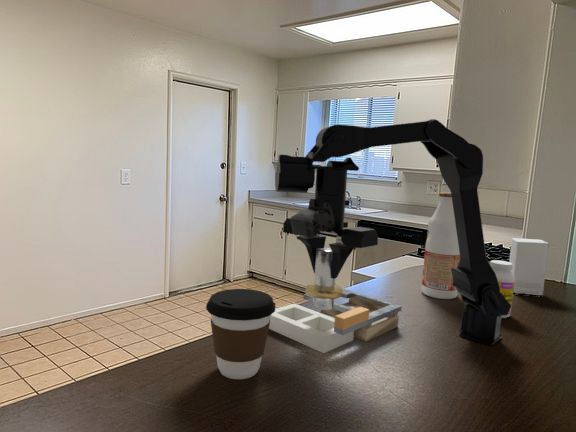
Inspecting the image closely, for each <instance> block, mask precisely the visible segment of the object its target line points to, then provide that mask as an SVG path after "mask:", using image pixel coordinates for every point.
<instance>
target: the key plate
mask: <svg viewBox="0 0 576 432" xmlns="http://www.w3.org/2000/svg"><path fill="white" fill-rule="evenodd" d="M341 288H342V289H343V293H342V296H341V297H340V298H343V299H349V298H351V297H352V298H355V299H359V300H362V301H365V302H368V303H371V304H375V305H378V306H381V307H383V308H381V309H378V310H376V311H373V312H370V313H369V309H366V308H363V307H358V308H355V309H353V308H350V307H347V306H344V305H342V304H339V303H338V302H335V301H334V308H333V309H334V310H337V311H340V312H343V313H341V314H338V315H336V316H335V322H334V332H336V333H338V334H341V335H345V334H347V333H350V332H352V331H354V330H357V329H359V328H361V327H364V326H366V325H369V324H371V323H373V322H376V321H378V320H381V319H383V318H385V317H388V316H390V315H392V314H395V313H397V312H398V313H399V312H402V309H403V307H402V305H399V304H396V303H392V302H389V301H387V300H386V301H385V300H382V299H378V298H376V297H372V296H370V295H365V294H363V293H359V292H355V291H353V290H349V289H346V288H343V287H341ZM302 298H303V300H306V301H309V302H312V303H313V297H312V296H309V295H308V294H306V293H303V297H302Z"/></svg>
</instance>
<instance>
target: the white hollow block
mask: <svg viewBox="0 0 576 432" xmlns="http://www.w3.org/2000/svg"><path fill="white" fill-rule="evenodd" d="M319 312H320V311H319ZM319 312H318V311H316V310H313V309H310V308H308V307H305V306H302V305H299V304H297V303H291V304H287V305H284V306H281V307H277V308H275V312H274V313H273V314H271V315H270V325H269V330H270V331H273V332H276V333H278V334H280V335H282V336H284V337H287V338H289V339H291V340H292V341H293V340H294V341H295V342H298V343H300V344H302V345H305V346H306V347H308V348H310V349H313V350H315V351H318V352H320V353H322V354H325V353H328V352H330V351H332V350H334V349H337V348H339V347H341V346H344V345H346V344H349V343H350V342H352V341H354V337H353V336H354V331H352V332H350V333H347V334H345V335H341V334H338V333H336V332H334V322H335V318H333V317H330V316H327V315H324V314H322V313H319Z"/></svg>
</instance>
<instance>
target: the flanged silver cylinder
mask: <svg viewBox="0 0 576 432" xmlns="http://www.w3.org/2000/svg"><path fill="white" fill-rule="evenodd" d="M331 268H332V250H331V248H330V247H324V248H318V249H316V261H315V273H314V280H313V281H314V282H313V283H309V284H307V285H306V286H305V294H308V295H309V296H312V297H313V302H312V307H313V308H314V309H318V310H320V311H321V310H330V309H333V308H334V302H335V299H340V298H342V297H341V296H342V293H343V289H344V288H343V287H341V286H339V285H337V284H336V280H337V278H335V279H332V274H331ZM342 288H343V289H342Z"/></svg>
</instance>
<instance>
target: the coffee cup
mask: <svg viewBox="0 0 576 432" xmlns="http://www.w3.org/2000/svg"><path fill="white" fill-rule="evenodd" d="M205 305H206V306H205V309H206V311H207V312H208V314H210V318H211V319H210V326H211V333H212V340H213V341H212V342H213V348H214V349H213V350H214V353H215V355H216V356H215V357H216V364H217V368H218V370H219V372H220V374H221V375H222V376H223V377H225V378H228V379H230V380H231V379H232V380H245V379H249V378H251V377H254V376H255V375H256V374H257V373H258V371H259V369H260V368H261V362H262V358H263V355H264V353H265V349H266V343H267V340H268V334H269V331H270V329H269V325H270V315H271V314H273V313H274V312H275V309H276V302H274V298H273V297H272V296H271V295H270V294H268V293H266V292H263V291H261V290H255V289H251V288H250V289H248V288H232V289H231V288H230V289H229V288H228V289H225V290H220V291H217V292H215V293H213V294H211V295H210V298H209V299H208V300H207V302H206V304H205Z"/></svg>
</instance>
